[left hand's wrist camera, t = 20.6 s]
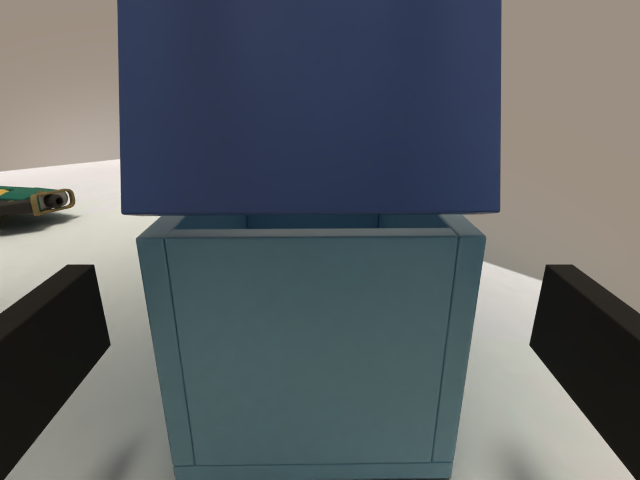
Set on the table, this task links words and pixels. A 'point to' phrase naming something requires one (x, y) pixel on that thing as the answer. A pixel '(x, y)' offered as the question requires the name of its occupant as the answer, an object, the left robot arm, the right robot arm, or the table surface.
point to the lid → (309, 107)
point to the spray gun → (33, 200)
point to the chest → (311, 342)
